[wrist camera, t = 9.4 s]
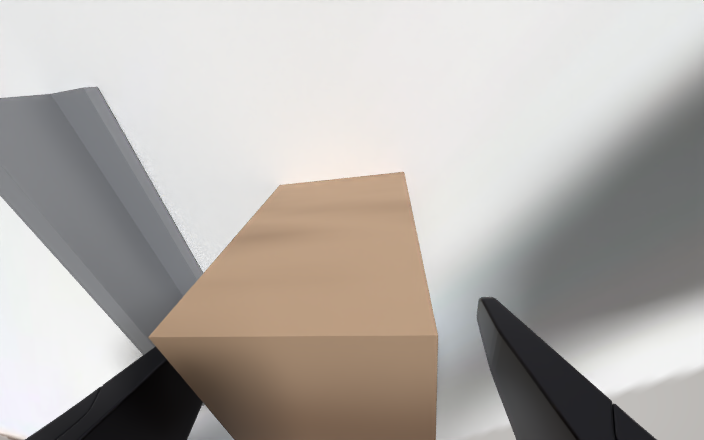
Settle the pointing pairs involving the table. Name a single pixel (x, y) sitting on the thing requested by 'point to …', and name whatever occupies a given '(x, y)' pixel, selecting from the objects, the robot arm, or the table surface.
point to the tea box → (314, 319)
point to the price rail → (94, 206)
